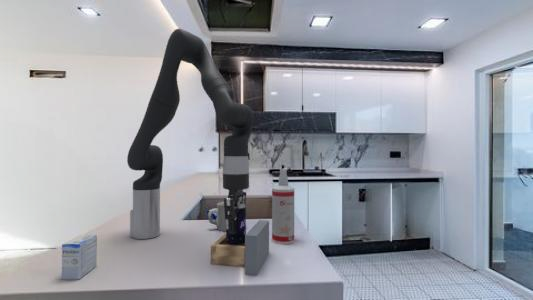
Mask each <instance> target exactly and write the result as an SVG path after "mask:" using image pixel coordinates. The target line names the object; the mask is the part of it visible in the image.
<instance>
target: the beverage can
mask: <svg viewBox="0 0 533 300" xmlns="http://www.w3.org/2000/svg"><path fill="white" fill-rule="evenodd" d="M246 206H247V205H246ZM246 206H245V203H244V202H243V203H240V208H239V212H238V213H237V233H236V234H229V233H228V220H227V219H226V232H225V234H226V243H227V244H228V245H235V246H242V245H243V244H244V243H245V235H246V234H247V207H246ZM236 208H237V206H236V207H234V209H236ZM230 215H232V212H230Z"/></svg>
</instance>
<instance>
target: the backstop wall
mask: <svg viewBox="0 0 533 300" xmlns="http://www.w3.org/2000/svg"><path fill="white" fill-rule="evenodd" d="M269 254H270V220H265V219H259V220H258V221H257V222H256V223H255V224H254V225H253V226H252V227H251V228H250V229H249V231H248V232H246V235H245V267H244V275H245V276H255V277H256V276H258V275H259V273H260V271H261V269H262V267H263V266H264V263H265V262H266V260H267V258H268V256H269Z"/></svg>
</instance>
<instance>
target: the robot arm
mask: <svg viewBox="0 0 533 300" xmlns="http://www.w3.org/2000/svg"><path fill="white" fill-rule="evenodd" d="M182 62H185V63H187V64H191V65H192V66H194V67H195V68H196V69H197V70H198V72H199V73H200V82H201V85H202V88H203V90H204V91H205V94H206V95H207V96H208V98H209V100H210V101H211V102H212V104H213V108H214V111H215V115H216V117H217V120H218V121H219V122H220V123H221V124H223V125H224V126H226V127H229V128H231V127H232V128H233V130H232V132H231V134H230V135H227V136H225V138H224V140H223V162H222V188H223V189H224V190H228V195H227V197H224V198H223V202H224V211H225V219H227V220H228V233H229V234H236V233H237V213H238V212H239V208H240V203H243V202H244V203H245V206H247V191H244V190H246V189H249V188H250V163H249V162H250V161H249V160H250V159H249V141H250V137H251V133H252V129H253V124H254V114H253V111H252V108H251V107H250V106H249V105H247V104H245V103H239V102H235V101H234V98H235V92H234V91H233V88H232V87H231V86H230V84H229V83H228V82H227V81H226V78H224V76H223V75H222V74H221V73H220V71H219V69H218V67H217V65H216V64H215V62H214V60H213V58H212V56H211V54H210V52H209V49H208V48H207V46H206V44H205V42H204V40H202V38H201V37H199V36H197V35H195V34H193V33H191V32H189V31H188V30H185V29H183V28H176V29H174V30H173V31H172V33H171V34H170V36H169V38H168V41H167V44H166V48H165V50H164V55H163V59H162V64H161V67H160V71H159V73H158V77H157V80H156V82H155V85H154V88H153V91H152V94H151V95H150V98H149V101H148V103H147V106H146V109H145V110H146V111H145V114H144V116H143V119H142V122H141V124H140V125H139V126H140V127H139V129H138V131H137V133H136V135H135V137H134V139H133V141H132V143H131V146H130V147H129V150H128V152H127V160H126V162H127V166H128V168H129V169H131V170H132V171H144V173H143V174H142V176H141V177H139V178H138V179H136V180H134V181H133V183H132V209H131V210H129V211H130V213H129V215H130V216H129V221H130V222H129V237H130V238H133V239H135V240H146V239H153V238H156V237H159V236H160V235H161V183H162V180H163V165H164V164H163V163H164V156H163V155H164V154H163V151H162V149H161V147H160V146H159V145H154V144H152V142H153V141H154V139H155V138H156V137H157V136H158V134H159V133H161V132H162V131H163V130H164V129H165V128H166V127H167V126H168V125H169V124H171V123H172V120H173V119H174V117H175V115H176V112H177V110H178V108H179V105H180V99H181V98H180V90H179V89H180V88H179V85H178V73H179V72H178V71H179V68H180V65H181V63H182ZM236 206H237V208H236V209H234V207H236ZM230 212H232V215H230Z"/></svg>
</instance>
